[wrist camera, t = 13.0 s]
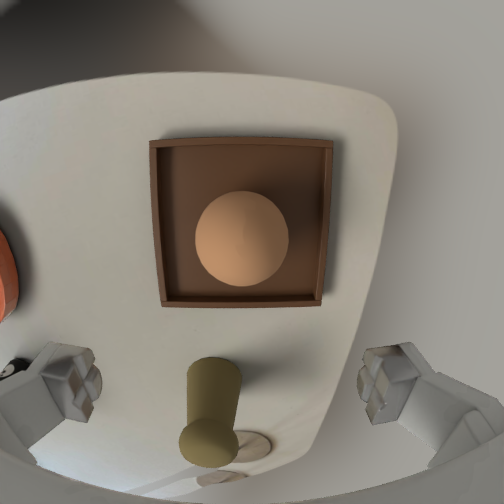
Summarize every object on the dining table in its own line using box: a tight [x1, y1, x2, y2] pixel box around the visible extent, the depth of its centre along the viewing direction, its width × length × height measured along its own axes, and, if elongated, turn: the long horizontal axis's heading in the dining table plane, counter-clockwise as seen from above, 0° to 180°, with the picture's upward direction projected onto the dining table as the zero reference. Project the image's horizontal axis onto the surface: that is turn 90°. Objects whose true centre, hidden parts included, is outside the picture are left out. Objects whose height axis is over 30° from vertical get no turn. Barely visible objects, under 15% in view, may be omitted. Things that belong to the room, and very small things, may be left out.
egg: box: [195, 191, 289, 286], centre depth 21 cm, size 6×6×8 cm
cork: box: [179, 357, 242, 468], centre depth 25 cm, size 6×6×11 cm
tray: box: [149, 137, 333, 308], centre depth 24 cm, size 14×14×2 cm
